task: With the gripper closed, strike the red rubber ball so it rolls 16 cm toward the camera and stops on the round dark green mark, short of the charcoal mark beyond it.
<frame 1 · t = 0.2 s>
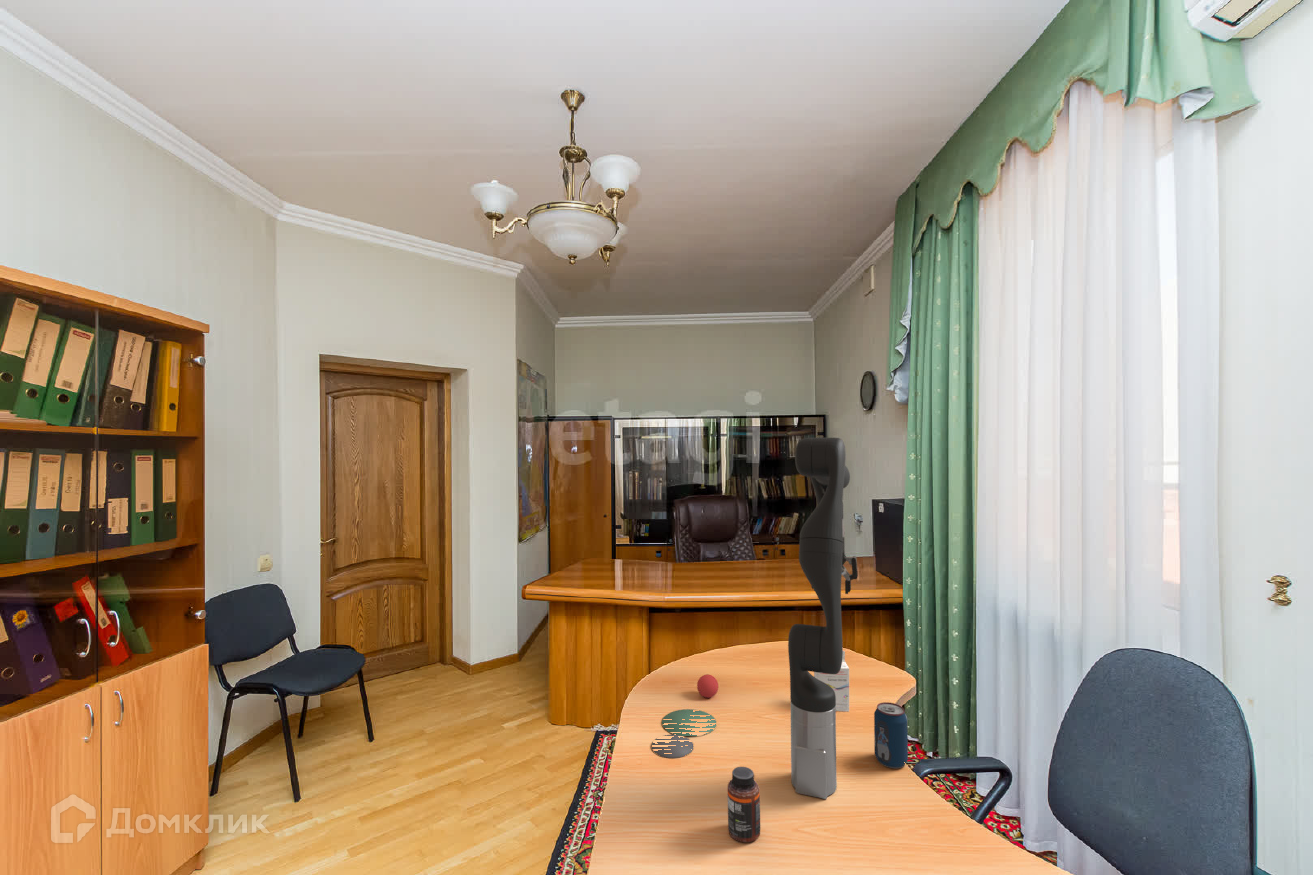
hand: (831, 591, 163), 29 cm above the table, tool pointing down, fingers open, 8 cm apart
ball: (707, 685, 163), on the table
ink cartridge box: (831, 707, 156), on the table
soda can: (891, 762, 130), on the table
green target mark: (689, 722, 148), on the table
supplement bottle: (744, 834, 107), on the table
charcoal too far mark: (672, 746, 137), on the table
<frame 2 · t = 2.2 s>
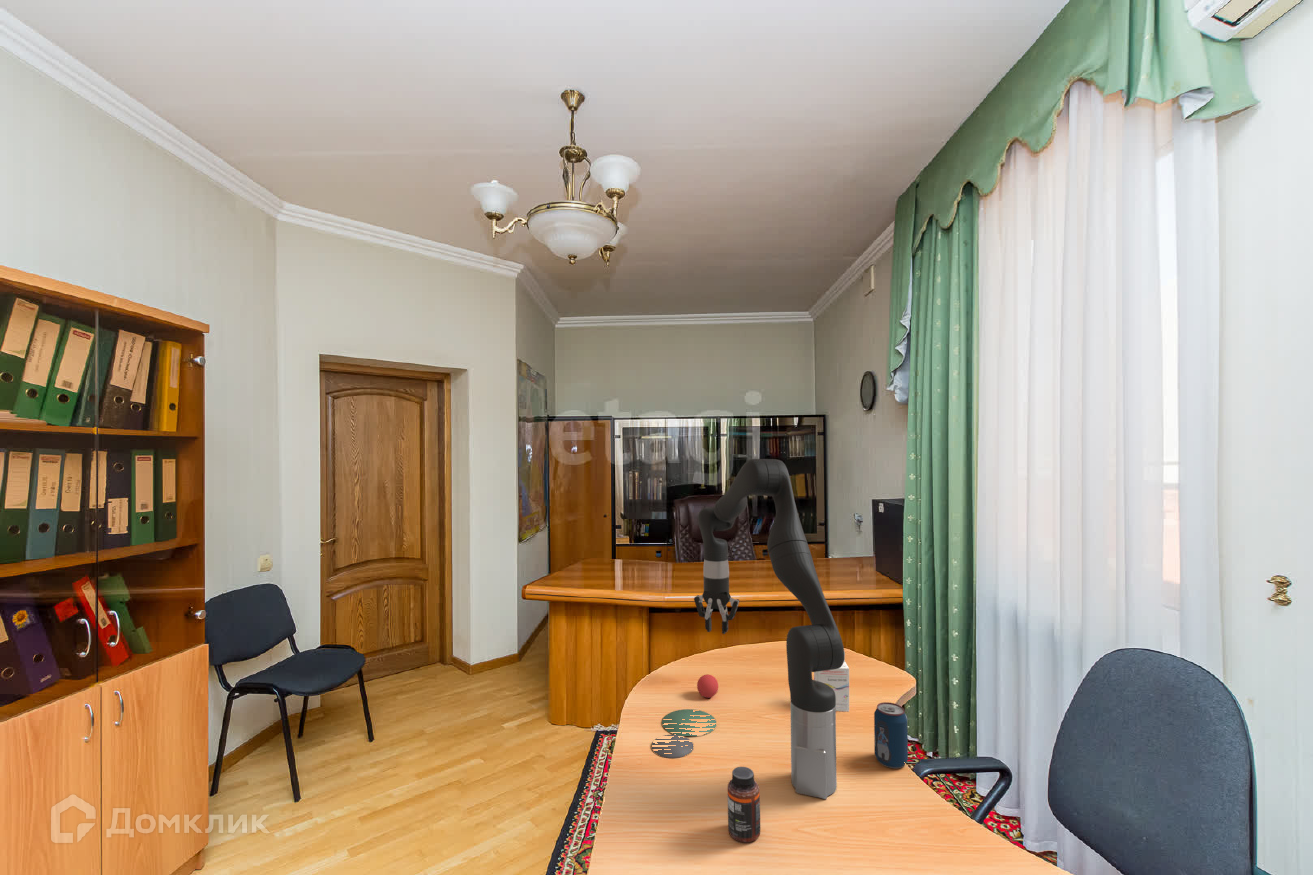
hand: (716, 631, 172), 15 cm above the table, tool pointing down, fingers open, 4 cm apart
nothing on the table moved.
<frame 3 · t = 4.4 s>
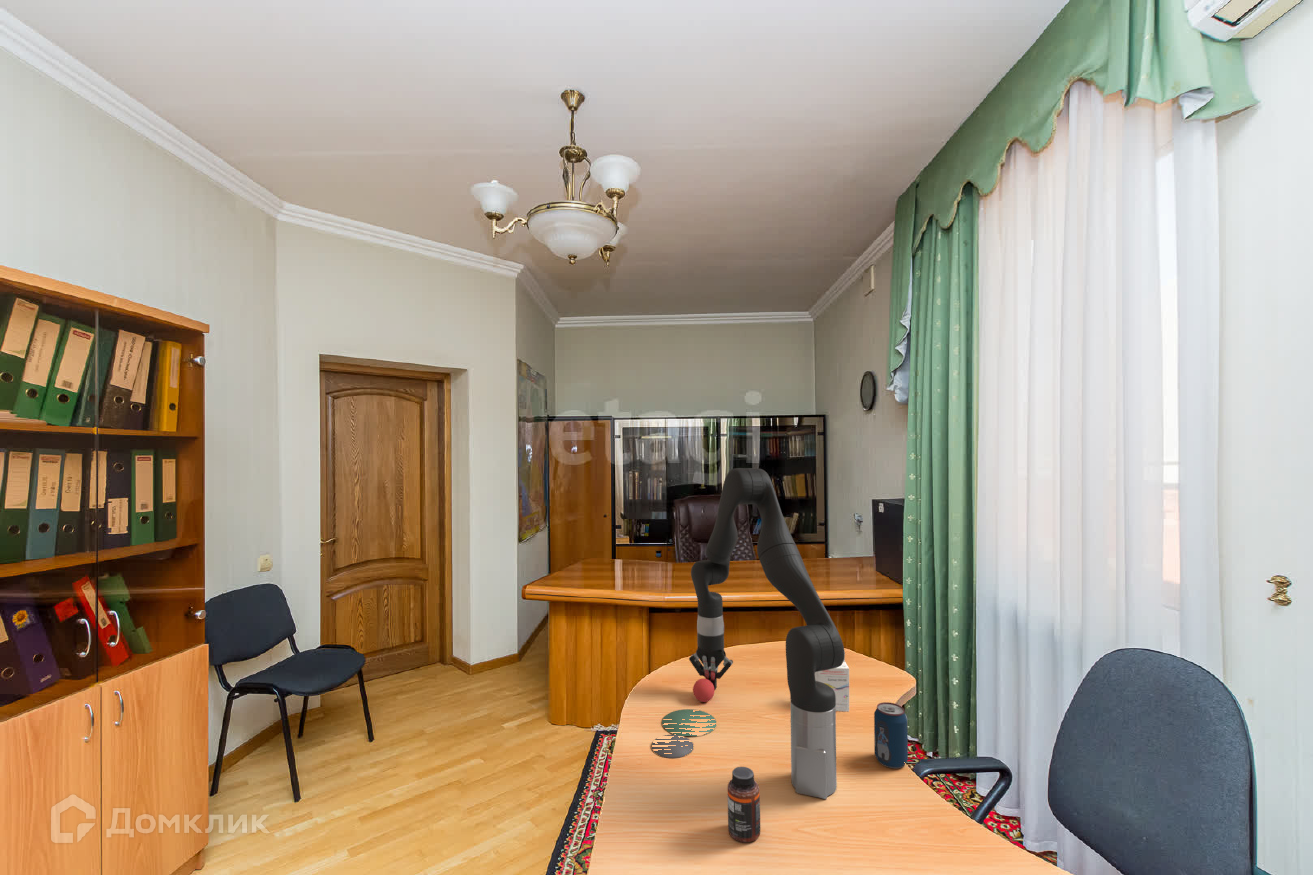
hand: (711, 691, 164), 1 cm above the table, tool pointing down, fingers closed
ball: (703, 690, 160), on the table, touching gripper
everything else where it was.
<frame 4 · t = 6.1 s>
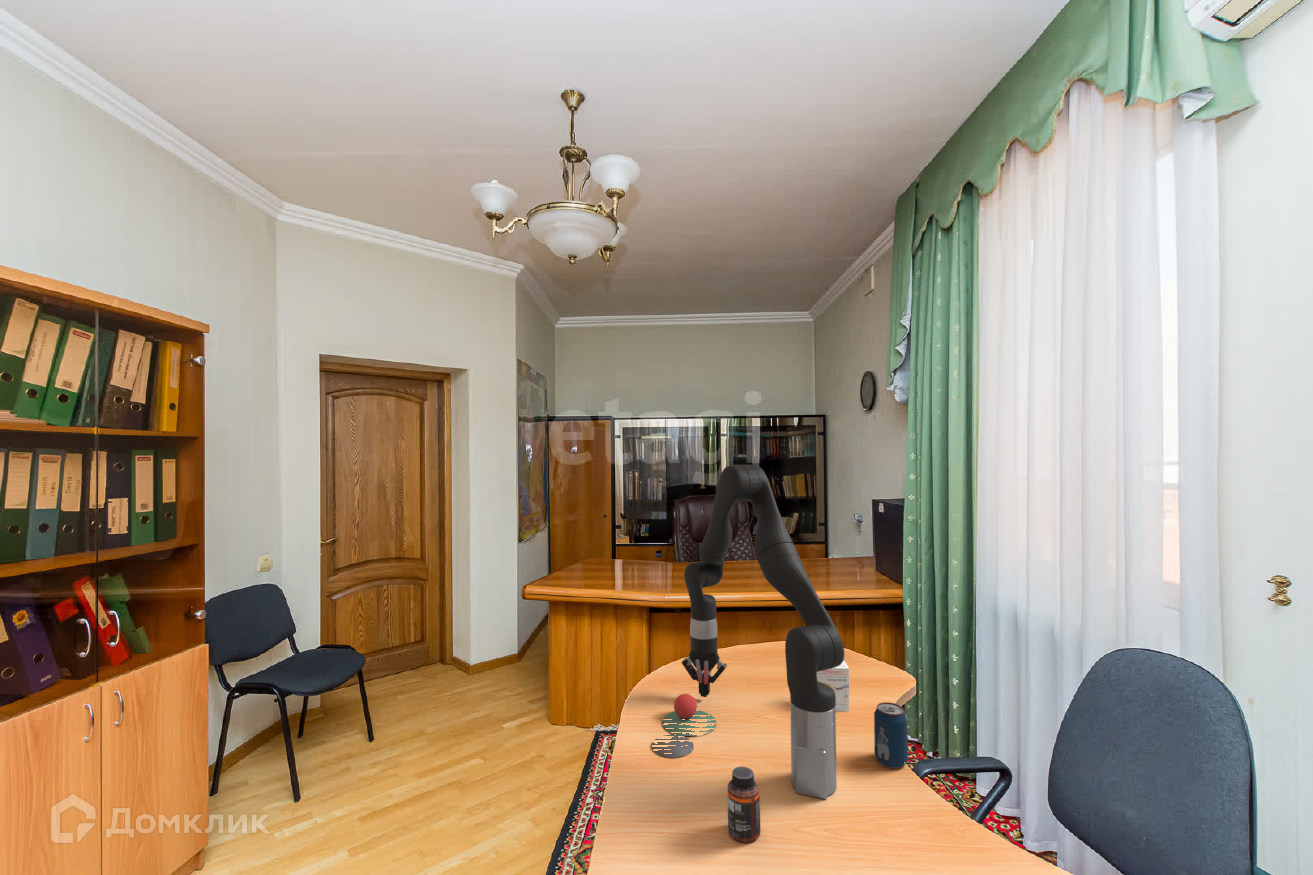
hand: (704, 695, 160), 2 cm above the table, tool pointing down, fingers closed
ball: (685, 706, 151), on the table
everything else where it was.
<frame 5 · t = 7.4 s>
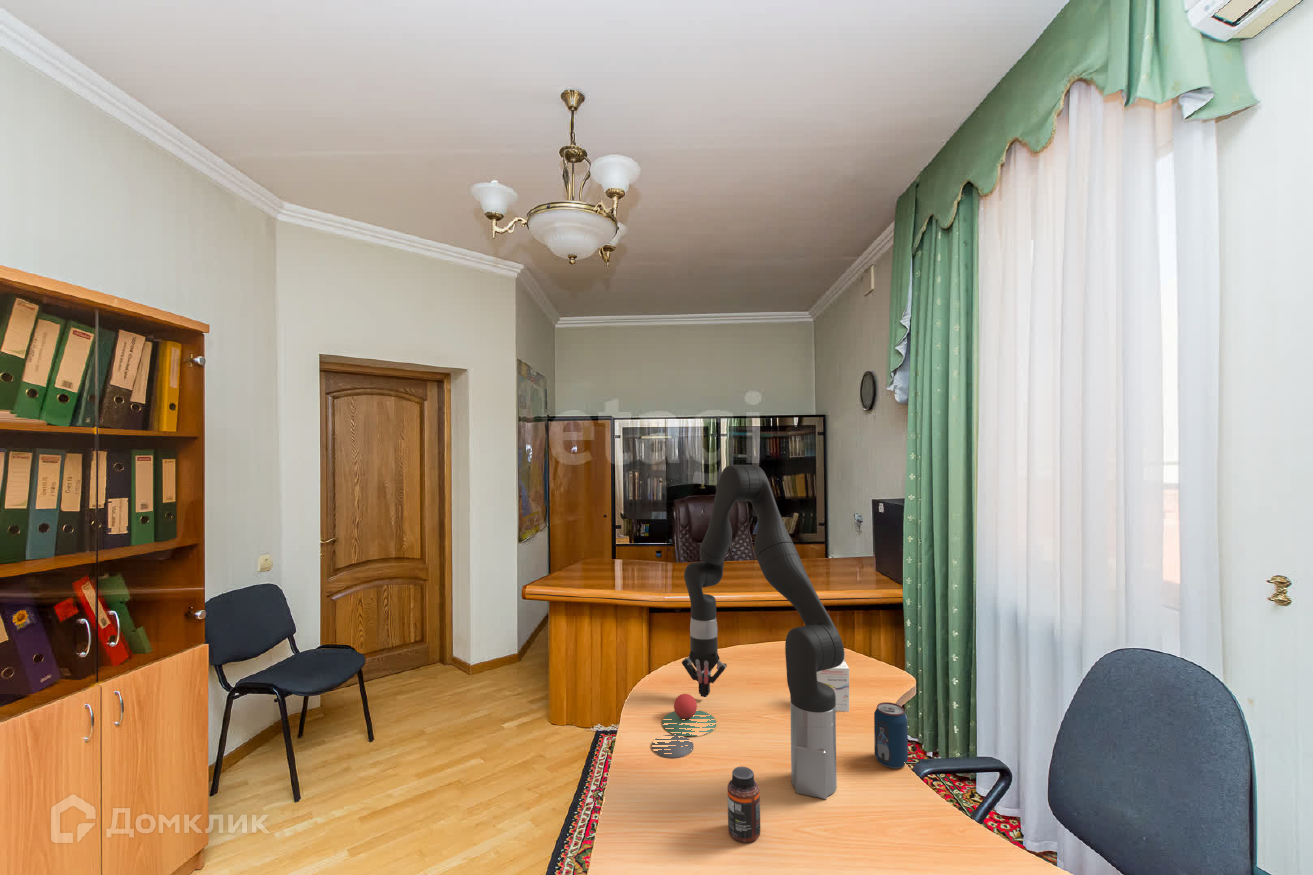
hand: (704, 695, 160), 2 cm above the table, tool pointing down, fingers closed
nothing on the table moved.
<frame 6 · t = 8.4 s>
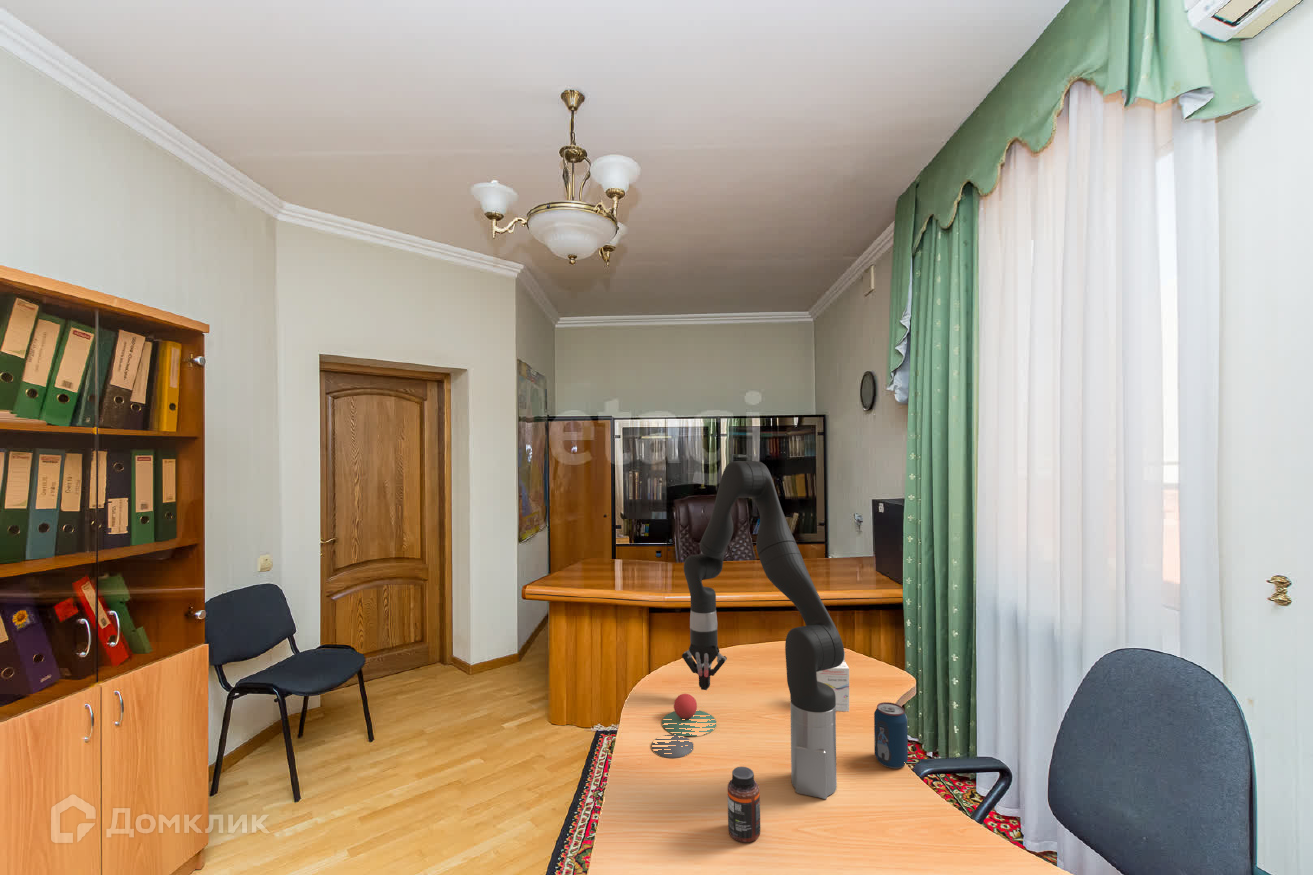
hand: (704, 688, 160), 4 cm above the table, tool pointing down, fingers closed
nothing on the table moved.
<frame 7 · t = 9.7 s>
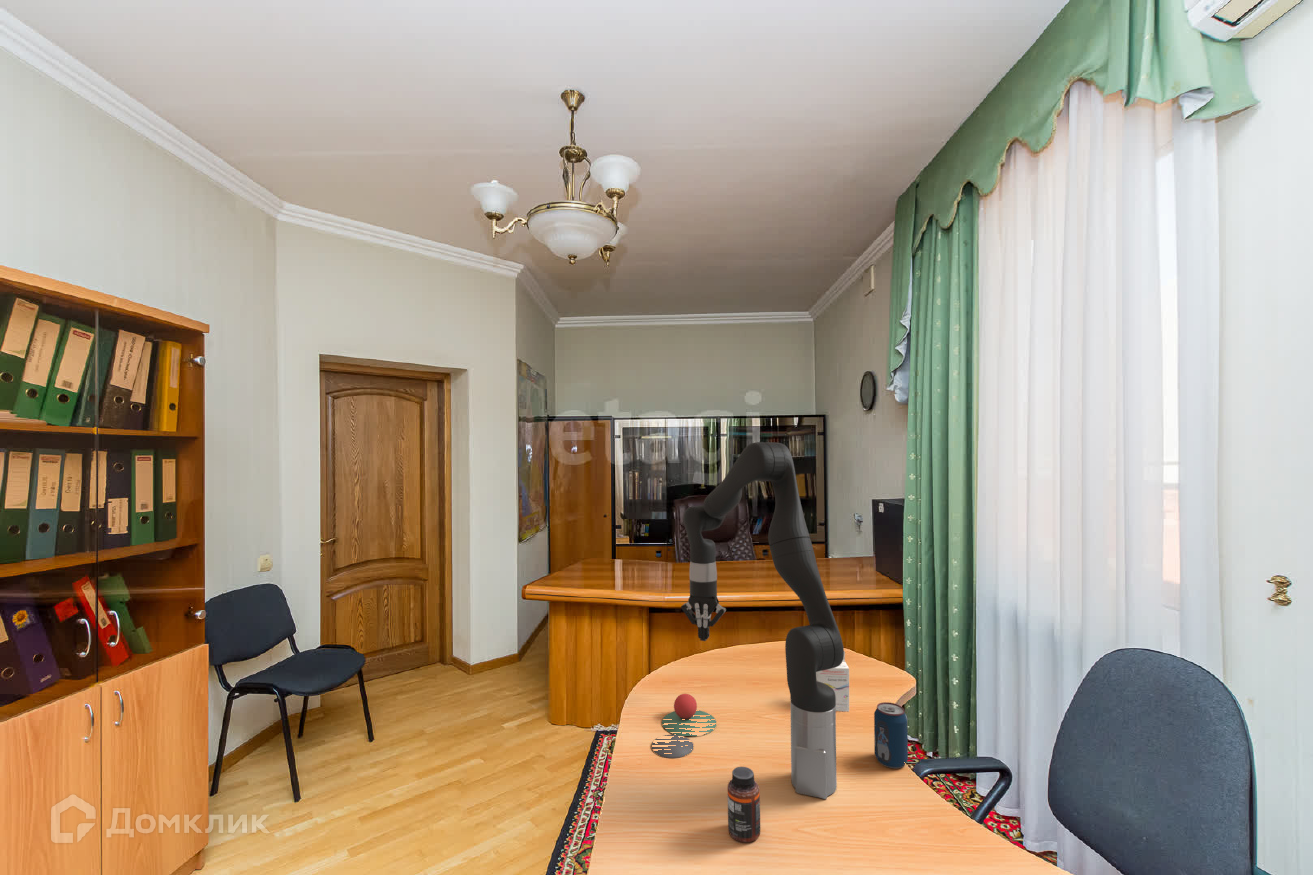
hand: (703, 639, 160), 17 cm above the table, tool pointing down, fingers closed
nothing on the table moved.
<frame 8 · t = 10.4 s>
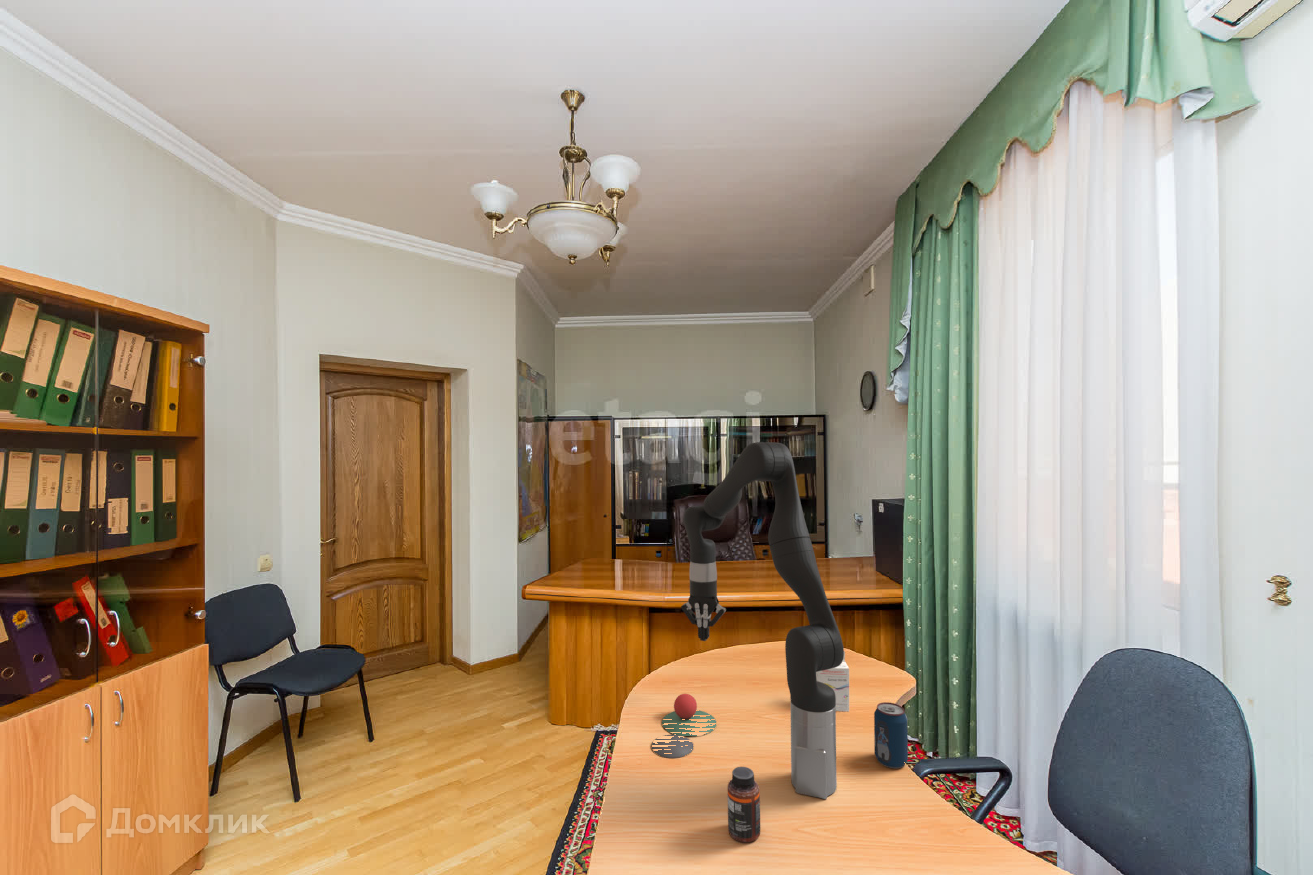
hand: (703, 639, 160), 17 cm above the table, tool pointing down, fingers closed
nothing on the table moved.
at the end: ball 2.9 cm from the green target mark (horizontally); ball at rest at the end (0.0 cm/s); ball moved 13.8 cm from its start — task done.
